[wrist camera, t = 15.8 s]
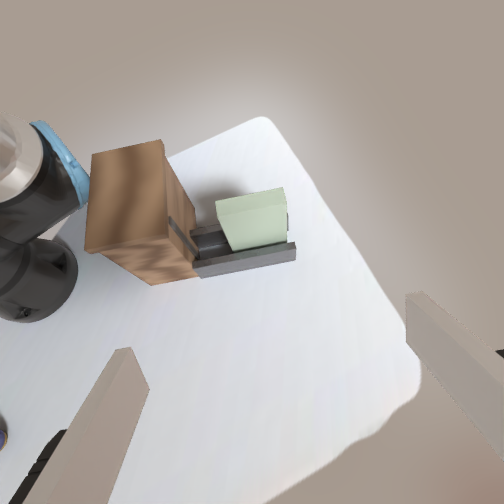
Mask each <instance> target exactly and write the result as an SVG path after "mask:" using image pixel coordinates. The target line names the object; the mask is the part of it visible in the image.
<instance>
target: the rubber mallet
mask: <svg viewBox="0 0 504 504" xmlns="http://www.w3.org/2000/svg"><path fill="white" fill-rule="evenodd" d="M6 441H7V435H6V433H5V432H4V431H2V430H1V429H0V451H1V450H2V449H3V448H4V446H5V445H6Z"/></svg>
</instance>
